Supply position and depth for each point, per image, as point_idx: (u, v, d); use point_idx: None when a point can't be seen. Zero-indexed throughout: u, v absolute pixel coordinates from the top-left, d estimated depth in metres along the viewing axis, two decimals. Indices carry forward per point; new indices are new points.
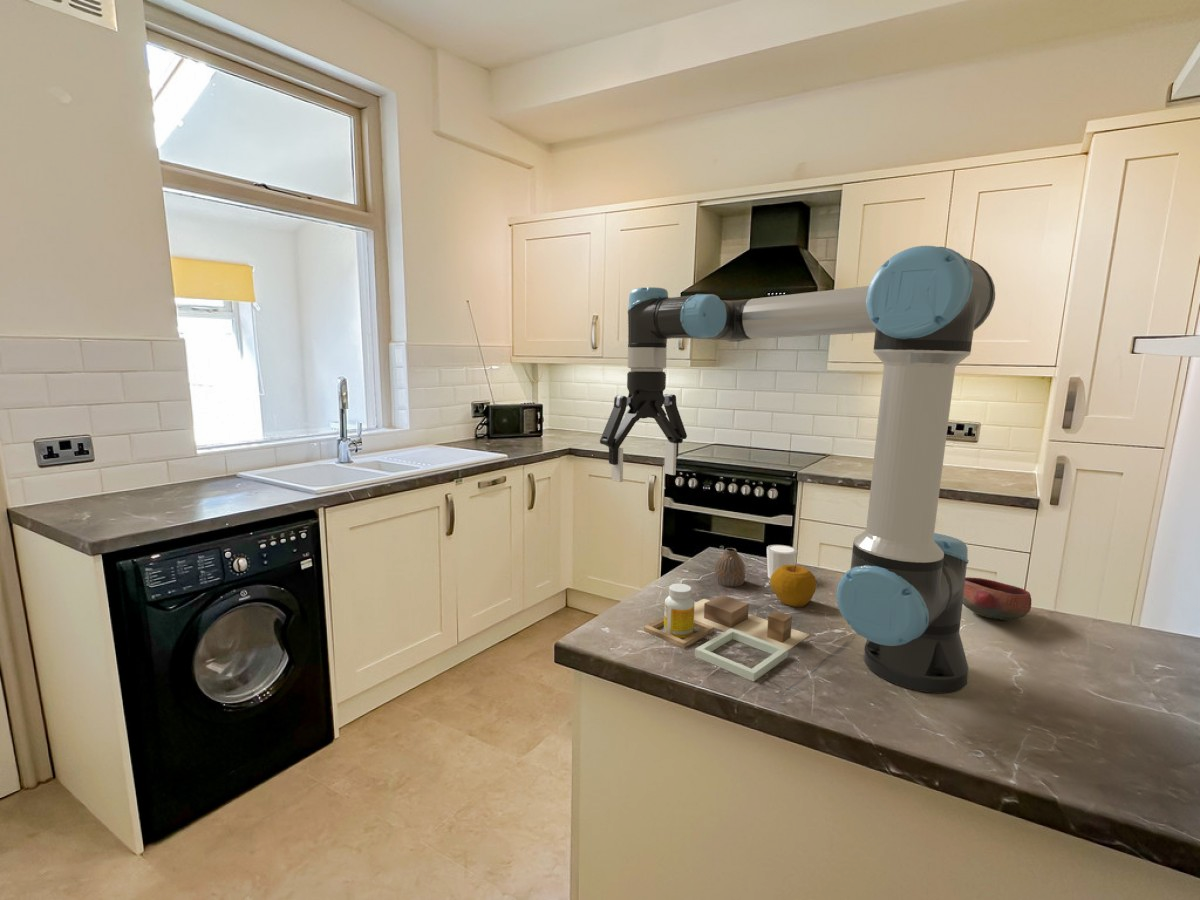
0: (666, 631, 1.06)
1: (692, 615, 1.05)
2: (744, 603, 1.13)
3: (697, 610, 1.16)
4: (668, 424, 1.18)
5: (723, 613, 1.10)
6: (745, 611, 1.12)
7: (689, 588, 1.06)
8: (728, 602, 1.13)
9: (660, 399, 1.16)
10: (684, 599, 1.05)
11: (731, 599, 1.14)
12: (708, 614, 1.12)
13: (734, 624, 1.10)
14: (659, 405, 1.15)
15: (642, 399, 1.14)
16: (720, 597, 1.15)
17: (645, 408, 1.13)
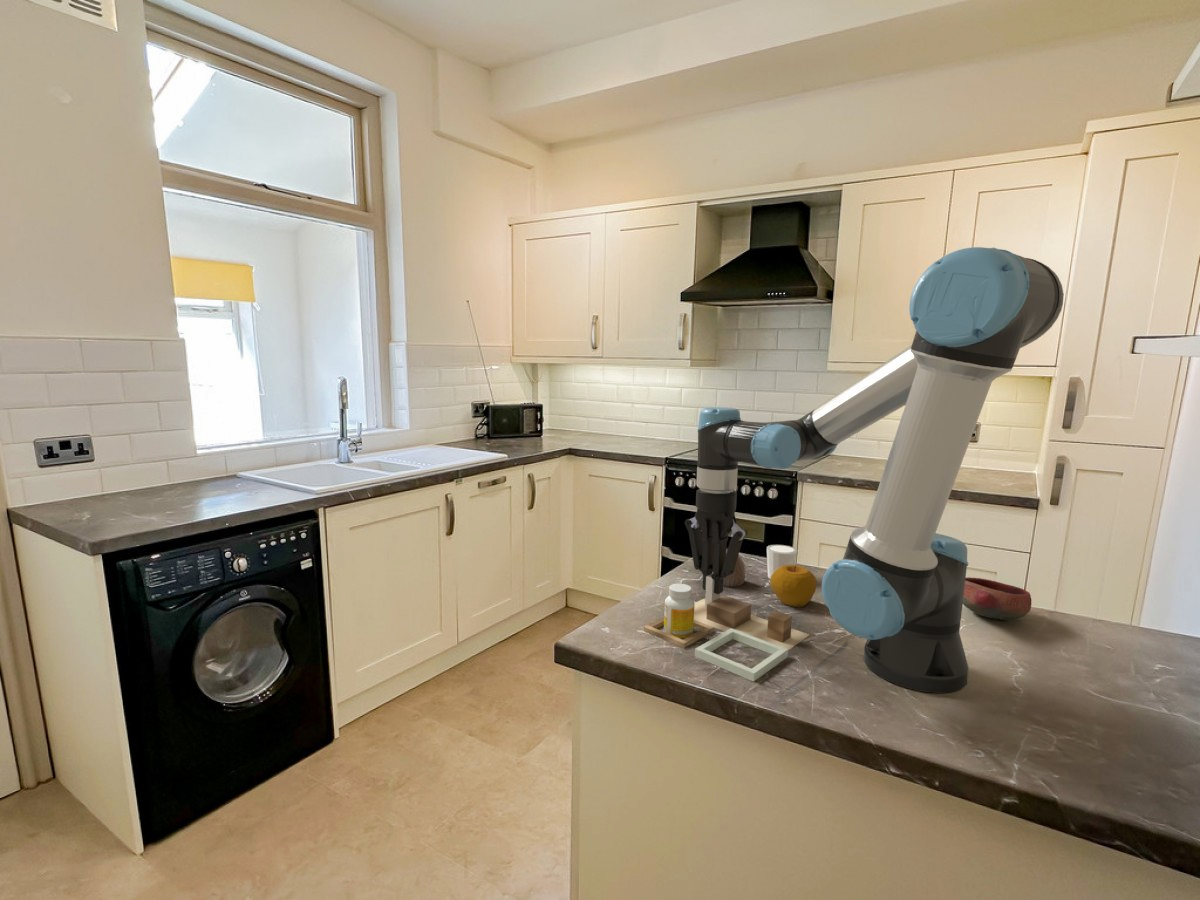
0: (666, 631, 1.06)
1: (692, 615, 1.05)
2: (747, 604, 1.12)
3: (697, 610, 1.16)
4: (716, 553, 1.12)
5: (725, 614, 1.09)
6: (748, 612, 1.12)
7: (689, 588, 1.06)
8: (731, 603, 1.13)
9: (725, 521, 1.10)
10: (684, 599, 1.05)
11: (733, 600, 1.14)
12: (711, 615, 1.12)
13: (737, 625, 1.09)
14: (716, 528, 1.10)
15: (702, 512, 1.13)
16: (722, 598, 1.15)
17: (705, 527, 1.12)
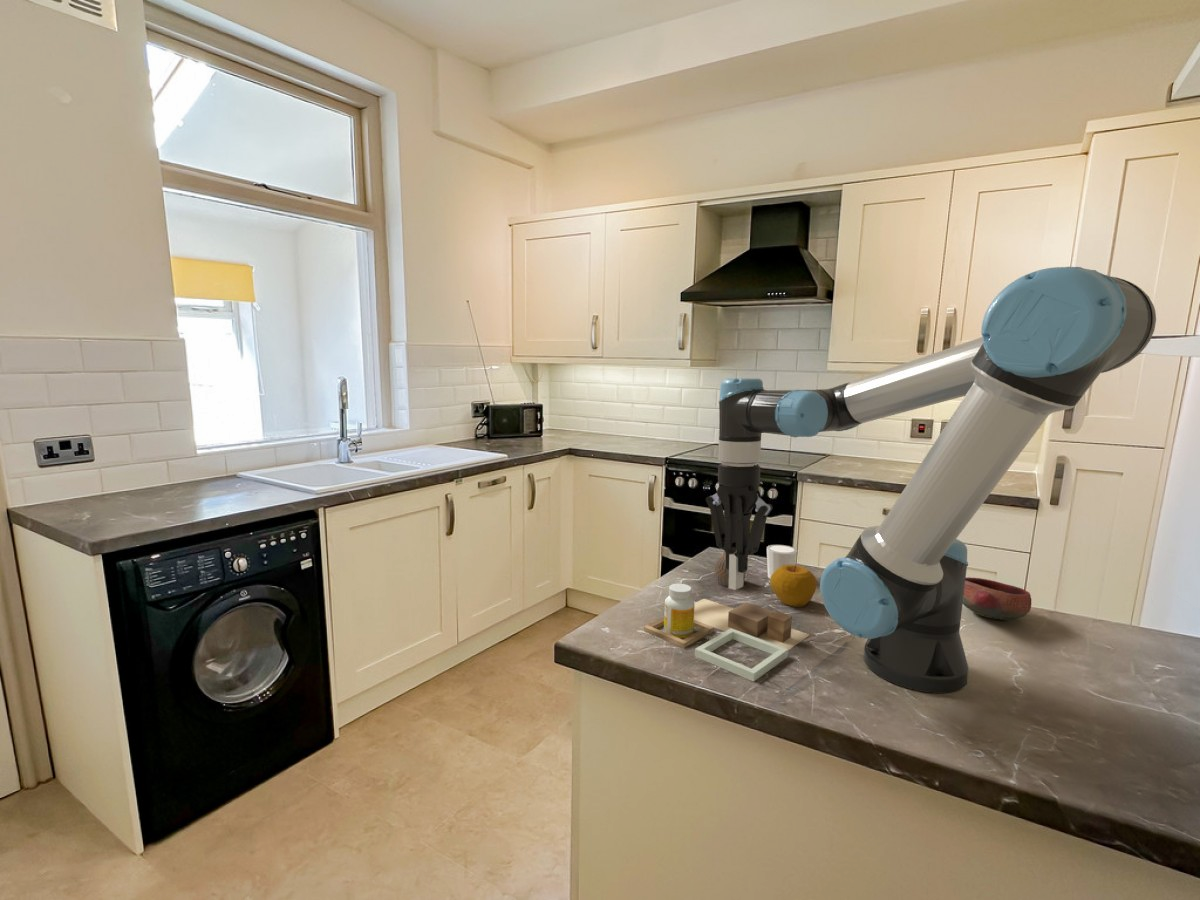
0: (666, 631, 1.06)
1: (692, 615, 1.05)
2: (769, 611, 1.09)
3: (697, 610, 1.16)
4: (740, 529, 1.07)
5: (748, 622, 1.06)
6: None
7: (689, 588, 1.06)
8: (753, 610, 1.09)
9: (749, 495, 1.06)
10: (684, 599, 1.05)
11: (756, 607, 1.11)
12: (732, 623, 1.08)
13: (760, 633, 1.06)
14: (739, 503, 1.06)
15: (724, 488, 1.09)
16: (744, 605, 1.12)
17: (727, 503, 1.08)
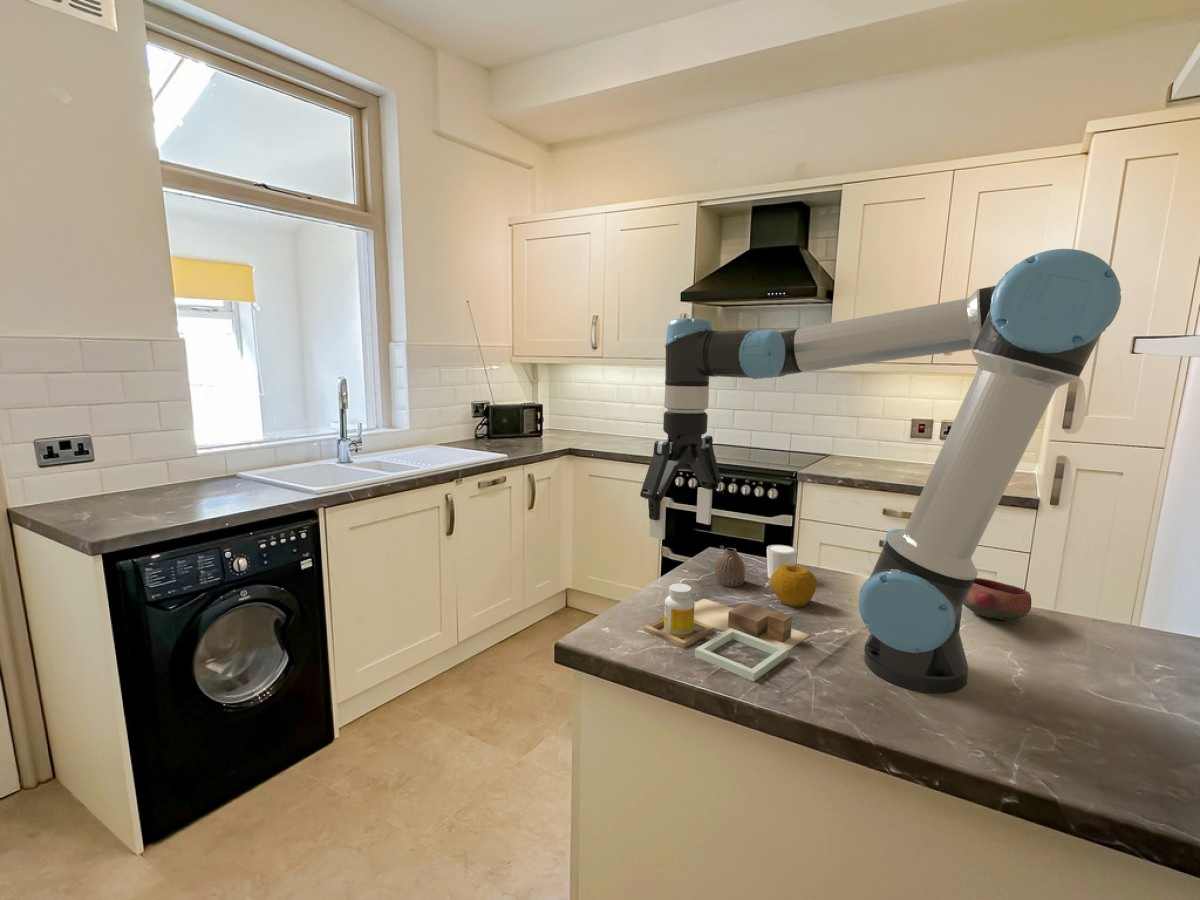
0: (666, 631, 1.06)
1: (692, 615, 1.05)
2: (769, 611, 1.09)
3: (697, 610, 1.16)
4: (705, 469, 1.06)
5: (748, 622, 1.06)
6: None
7: (689, 588, 1.06)
8: (753, 610, 1.09)
9: (699, 442, 1.03)
10: (684, 599, 1.05)
11: (756, 607, 1.11)
12: (732, 623, 1.08)
13: (760, 633, 1.06)
14: (699, 449, 1.02)
15: (683, 444, 1.00)
16: (744, 605, 1.12)
17: (687, 454, 1.00)
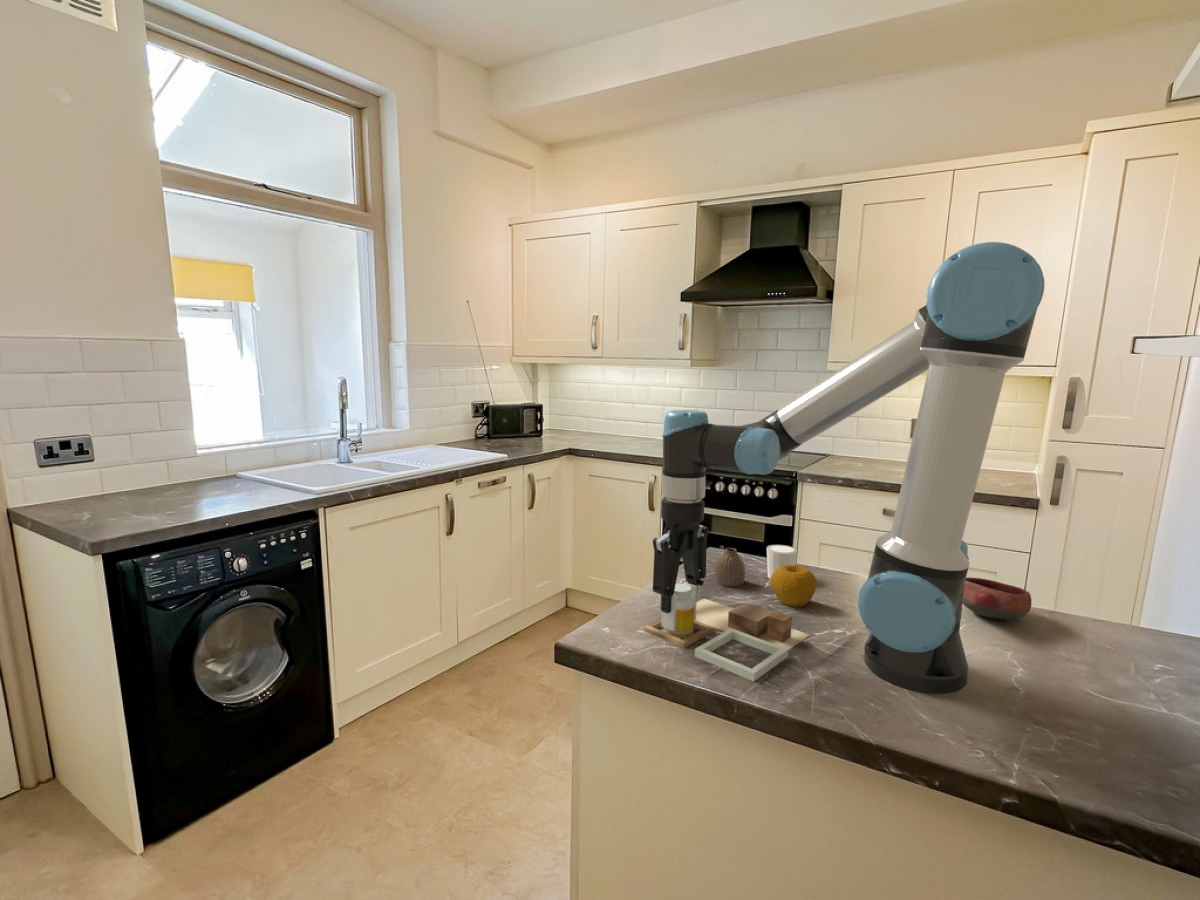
0: (666, 631, 1.06)
1: (692, 615, 1.05)
2: (769, 611, 1.09)
3: (697, 610, 1.16)
4: (695, 560, 1.07)
5: (748, 622, 1.06)
6: None
7: (689, 588, 1.06)
8: (753, 610, 1.09)
9: (696, 527, 1.06)
10: (684, 599, 1.05)
11: (756, 607, 1.11)
12: (732, 623, 1.08)
13: (760, 633, 1.06)
14: (696, 537, 1.05)
15: (680, 529, 1.02)
16: (744, 605, 1.12)
17: (686, 542, 1.03)
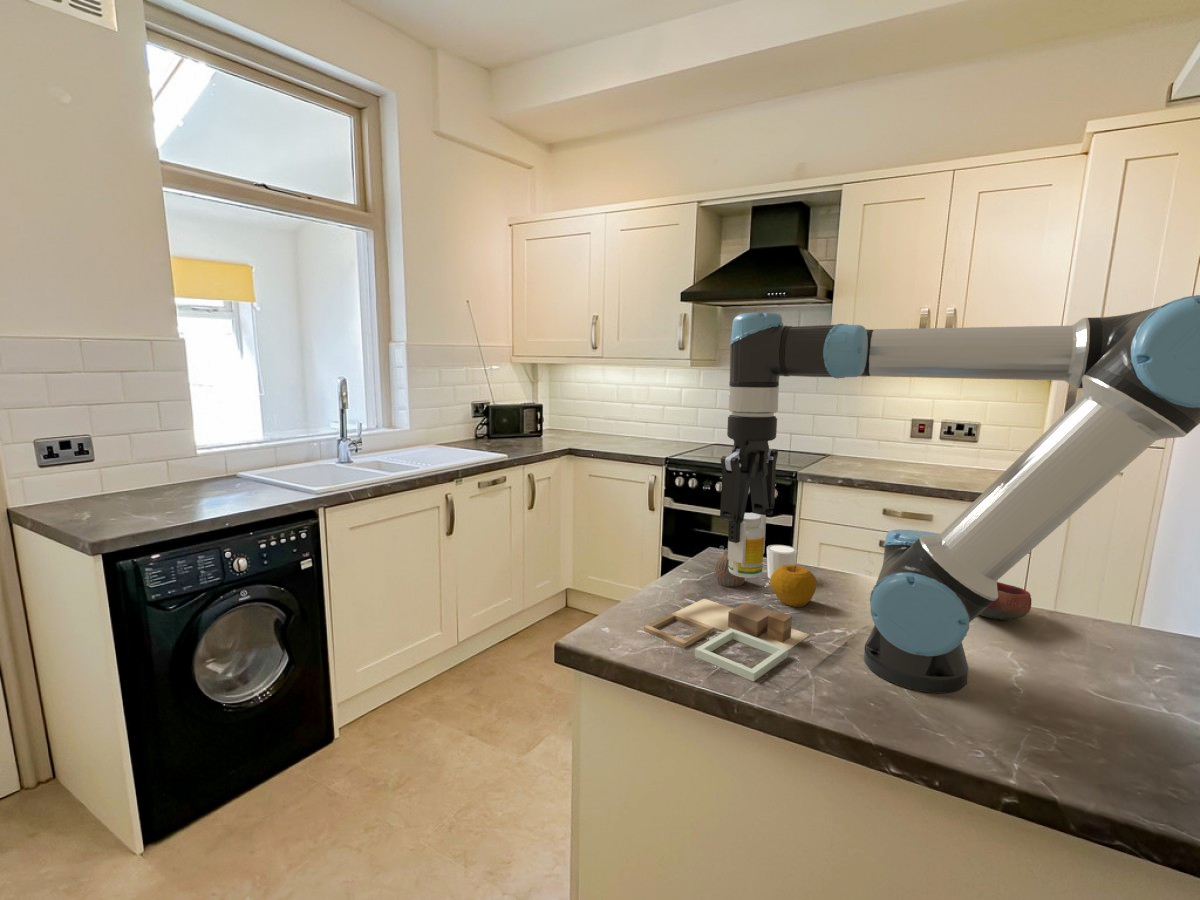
0: (732, 565, 0.95)
1: (762, 546, 0.94)
2: (769, 611, 1.09)
3: (697, 610, 1.16)
4: (764, 486, 0.95)
5: (748, 622, 1.06)
6: None
7: (758, 516, 0.94)
8: (753, 610, 1.09)
9: (766, 448, 0.94)
10: (753, 528, 0.93)
11: (756, 607, 1.11)
12: (732, 623, 1.08)
13: (760, 633, 1.06)
14: (766, 458, 0.93)
15: (750, 447, 0.91)
16: (744, 605, 1.12)
17: (757, 462, 0.91)
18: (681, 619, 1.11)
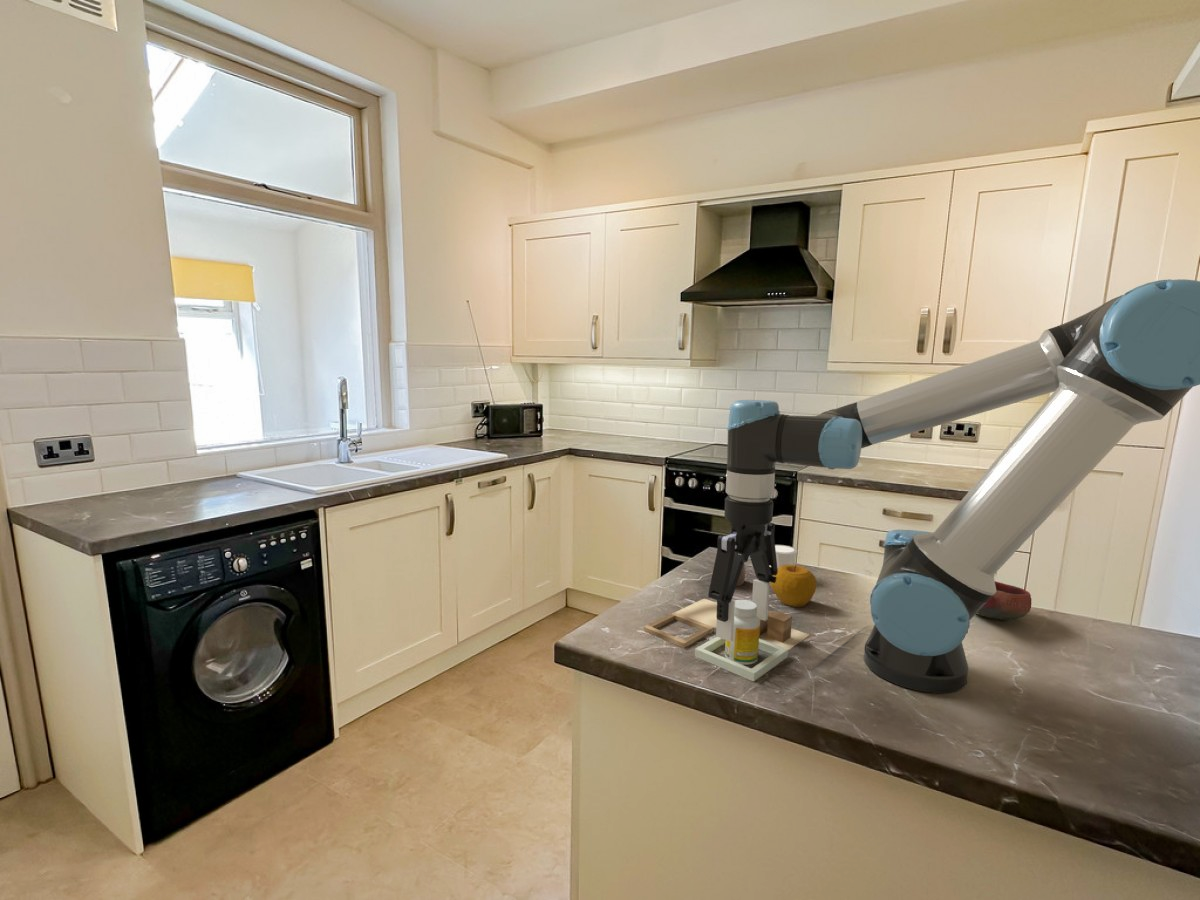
0: (729, 652, 0.97)
1: (758, 635, 0.96)
2: (769, 611, 1.09)
3: (697, 610, 1.16)
4: (765, 559, 0.98)
5: None
6: None
7: (754, 605, 0.96)
8: None
9: (762, 529, 0.96)
10: (750, 617, 0.95)
11: None
12: None
13: (760, 633, 1.06)
14: (763, 538, 0.95)
15: (747, 532, 0.93)
16: None
17: (752, 545, 0.93)
18: (681, 619, 1.11)
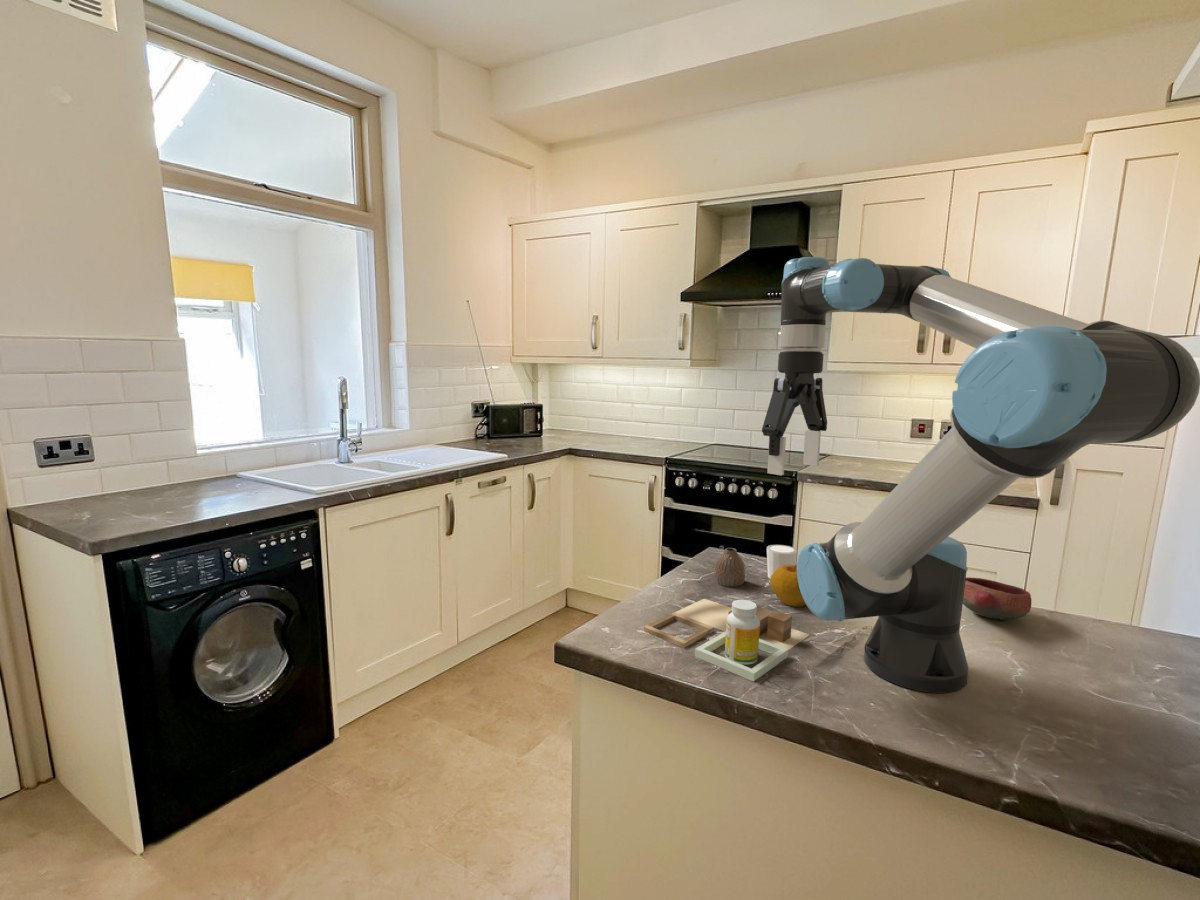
0: (729, 652, 0.97)
1: (758, 635, 0.96)
2: (769, 611, 1.09)
3: (697, 610, 1.16)
4: (816, 410, 1.08)
5: None
6: None
7: (754, 605, 0.96)
8: None
9: (812, 383, 1.06)
10: (749, 617, 0.95)
11: None
12: None
13: (760, 633, 1.06)
14: (813, 389, 1.05)
15: (800, 382, 1.02)
16: None
17: (804, 392, 1.02)
18: (681, 619, 1.11)
